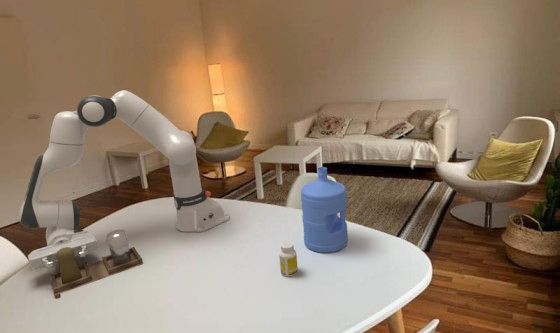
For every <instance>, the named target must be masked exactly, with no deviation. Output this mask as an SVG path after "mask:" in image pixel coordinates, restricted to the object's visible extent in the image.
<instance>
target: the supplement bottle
mask: <svg viewBox="0 0 560 333" xmlns="http://www.w3.org/2000/svg"><path fill="white" fill-rule="evenodd" d="M278 256H279V266H280V268H279V269H280V273H281V274H280V275H282V276H283V275H284V277H286V276H291V277H294V276H296V275H297V274H298V272H299V269H298V258H297V257H298V256H297V250H295V246H294V243H293V242H291V241H285V242H282V243H281V244H280V250H279V253H278ZM293 275H294V276H293Z"/></svg>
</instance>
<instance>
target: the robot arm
mask: <svg viewBox="0 0 560 333" xmlns="http://www.w3.org/2000/svg"><path fill="white" fill-rule="evenodd" d="M114 119H116V120H119V121H121V122H123V123H124V124H126V125H127V126H128V127H130V128H131V129H133V131H135V132H136V133H138V134H139V135H140V136H141V137H143V138H144V139H145V140H147V141H148V142H149V143H150V144H151V145H153V147H154V148H155V149H157V150H158V151H159V152H160V153H161V154H162V155H163V156H165V157H166V158H167V159H168V164H169V171H170V177H171V184H172V189H173V203H174V207H175V210H176V220H175V222H176V224H175V229H176V230H177V231H179V232H184V233H186V232H198V233H202V232H204V231H206V230H209V229H211V228H213V227H215V226H218V225H220V224H222V223H225V222H227V221H229V220H230V218H231V217H230V214H229V212H227V211H226V210H224V209H223V207H222V205H221V204H220V203H219V202H218V201H217V200H215V199H213V198H210V197H211V196H212V193H211V191H208V190H206V189H203V188H202V184H201V177H200V170H199V165H198V160H197V147H196V143H195V141H194V138H193V136H192V135H191V134H190V133H189V132H188V131H186V130H185V131H184V130H182V129H181V130H180V129H179V128H178V127H176V125H174V124H173V122H171V121H170V120H169V119H168V118H167V117H166V116H165V115H163V114H162V113H161V112H160V111H159V110H157V109H155V108H154V107H153V106H152V105H151V104H149V103H148V102H147V101H145V100H144V99H143V98H141V97H139V96H138V95H136V94H135V93H133V92H130V91H129V90H126V89H125V90H120V91H117V92H115V93H114V95H112V96H111V97H110V98H109V97H104V96H101V95H96V94H95V95H94V94H93V95H88V96H86V97H84V98H82V99H81V100H80V101H79V102H78V103H77V107H76V110H75V111H69V110H67V111H60V112H59V113H57V114H56V115H55V116H54V118H53V121H52V125H51V129H50V135H49V142H48V143H49V144H48V147H47V149H46V151H45V152H44V153H43V154H41V155H38V157H37V159H36V160H35V163H34V166H33V169H32V172H31V175H30V178H29V183H28V186H27V190H26V193H25V197H24V200H23V203H22V205H21V206H20V209H19V212H18V222H19V224H20V225H22V226H23V227H24V228H26V229H28V230H33V229H40V228H46V231H45V241H46V245H47V246H43V247H41V248H37V249H33V250H32V251H31V252H30V253H29V254H28V255H27V259H28V262H29V266H30V268H31V269H34V270H35V269H38V268H42V267H47V268H48V269H49V268H53V267H54V263H58V262H59V261H58V260H57V258H56V253H57V251H58V250H60V249H62V248H65V247H71V248H72V249H73V250H74V257H77V256H79V257H80V258H81V259H82V258H84V257H86V254H87V253H89V252H92V251H96V250H97V249H98V247H99V246H98V242H97V240H96V238H95V235H94V234H92V233H90V232H89V231H88V229H86V228H82V229H78V227H79V225H80V220H81V213H80V208H79V206H78V204H77V203H76V202H75V201H74V200H71V199H57V200H55V199H53V200H51V199H49V200H48V199H47V200H45V199H42V200H41V199H40V195H41V191H42V187H43V184H44V181H45V179H46V178H47V177H48V176H50V175H51V174H53V173H55V172H58V171H62V170H66V169H69V168H71V167H74V166H75V165H77V164H78V163H79V162H81V160H82V158H83V157H84V151H85V145H86V144H85V142H86V134H87V131H88V129H89V128H93V127H94V128H98V127H102V126H104V125H106V124H108V123H109V122H110V121H112V120H114Z"/></svg>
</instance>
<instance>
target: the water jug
mask: <svg viewBox="0 0 560 333" xmlns="http://www.w3.org/2000/svg"><path fill="white" fill-rule="evenodd" d="M327 170H328V168H327V167H325V166H320V167H318V168H317V176H318V178H317V179H315V180H313V181H311V182H309V183H306V184H305V185H303V186H302V187H301V189H300V199H301V200H300V202H301V209H302V211H301V212H302V216H301V219H302V225H303V243H304V246H306V247H307V248H308V249H309V250H311V251H314V252H317V253H323V252H324V253H325V252H328V253H333V252H334V251H335V252H337V251H341V250H342V249H344V248H345V247H346V246H347V245H348V242H349V234H348V223H347V221H346V208H347V199H348V197H347V195H348V194H347V189H346V185H344V184H343V183H341V182H339V181H335V180H332V179H329V178H328V171H327ZM338 214H339V216H338ZM324 253H323V254H324Z"/></svg>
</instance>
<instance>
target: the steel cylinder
mask: <svg viewBox="0 0 560 333" xmlns="http://www.w3.org/2000/svg"><path fill="white" fill-rule="evenodd" d="M106 240H107V242H108V248H109V251H110V255H111V256H112V261H113V265H114V266H119V265H122V264H124V263H127V262H130V261H132V259H131V254H130V250H129V248H130V246H129V242H128V241H129V240H128V237H127V233H126V229H121V228H120V229H114V230H112V231H110V232H108V233H107V234H106Z"/></svg>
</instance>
